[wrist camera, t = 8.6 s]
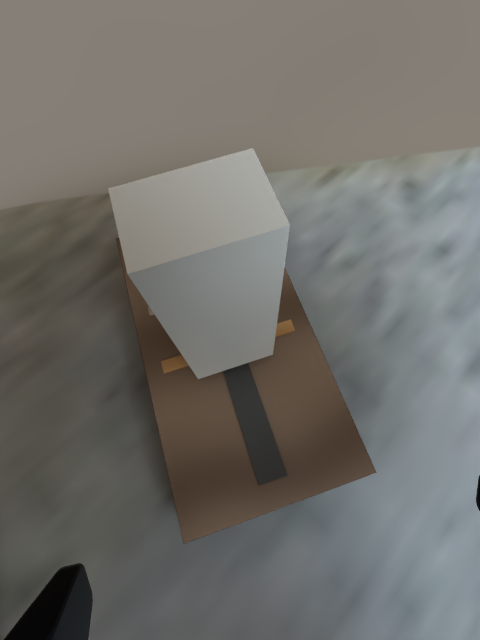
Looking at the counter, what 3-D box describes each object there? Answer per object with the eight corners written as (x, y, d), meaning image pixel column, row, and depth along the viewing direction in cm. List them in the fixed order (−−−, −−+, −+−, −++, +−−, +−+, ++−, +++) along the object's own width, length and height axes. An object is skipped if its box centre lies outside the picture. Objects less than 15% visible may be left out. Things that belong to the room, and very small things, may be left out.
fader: (273, 354, 15) (290, 224, 7) (198, 379, 15) (127, 273, 7) (255, 308, 16) (253, 148, 8) (184, 331, 16) (108, 188, 8)
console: (359, 471, 16) (377, 472, 14) (194, 532, 15) (183, 544, 13) (254, 226, 22) (253, 197, 20) (131, 263, 21) (115, 237, 19)
